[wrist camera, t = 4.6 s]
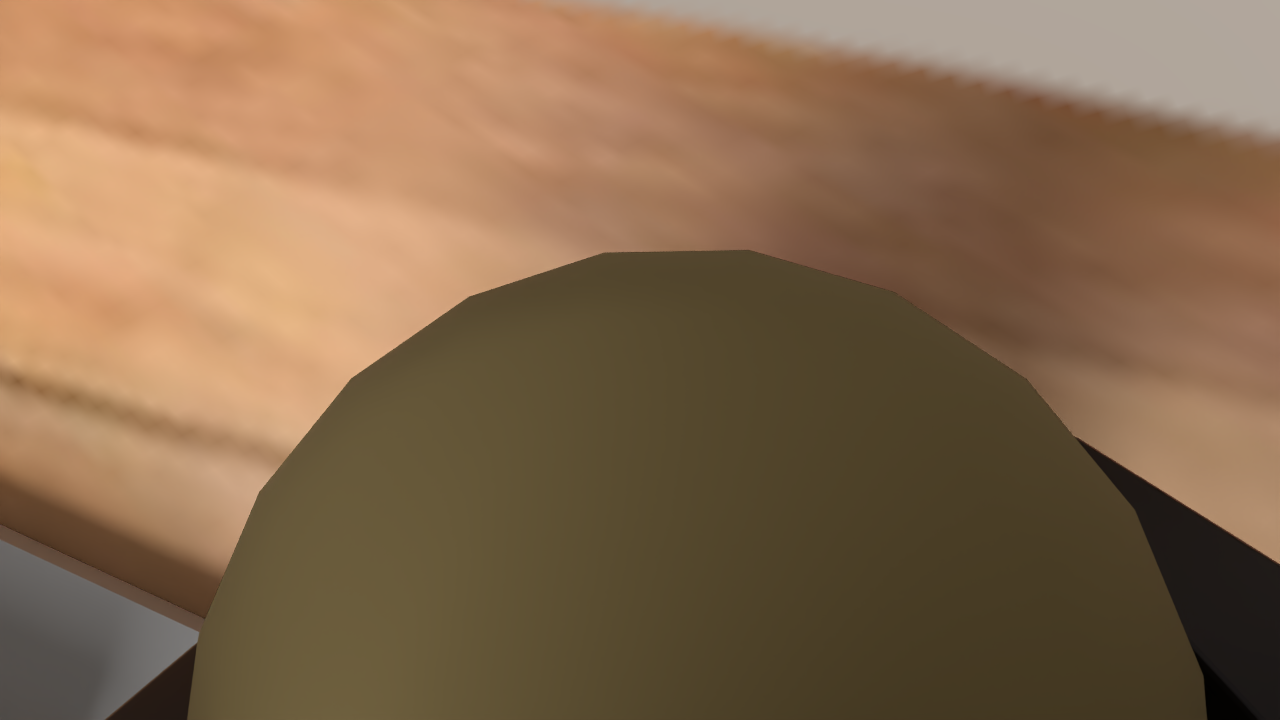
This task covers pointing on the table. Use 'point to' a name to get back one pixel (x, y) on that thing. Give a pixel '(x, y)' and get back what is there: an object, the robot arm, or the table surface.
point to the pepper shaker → (691, 522)
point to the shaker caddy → (78, 635)
